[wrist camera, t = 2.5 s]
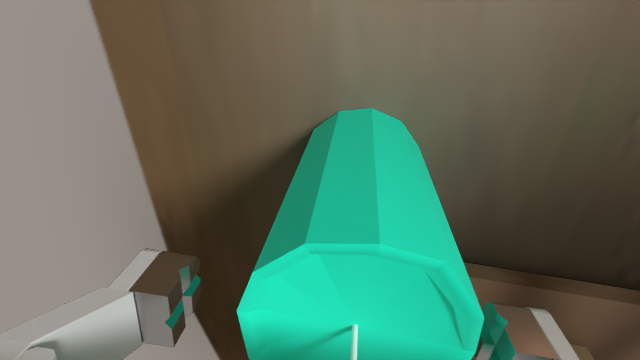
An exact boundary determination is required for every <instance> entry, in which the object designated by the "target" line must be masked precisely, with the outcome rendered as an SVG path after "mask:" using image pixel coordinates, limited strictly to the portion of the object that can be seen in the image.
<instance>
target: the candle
mask: <svg viewBox="0 0 640 360" xmlns="http://www.w3.org/2000/svg"><path fill="white" fill-rule="evenodd" d="M237 315H238V319H239V323H240V327H241V331H242V335H243V338H244V342H245V346H246V350H247V354H248V358H249V359H250V360H471V359H472V357H473V356H474V354H475V353H476V349H477V345H478V342H479V338H480V334H481V330H482V326H483V322H484V315H483V313H482V310H481V307H480V305H479V302H478V300H477V297H476V294H475V292H474V289H473V287H472V284H471V281H470V279H469V276H468V274H467V271H466V268H465V266H464V263H463V260H462V258H461V255H460V253H459V250H458V247H457V245H456V242H455V240H454V237H453V234H452V232H451V229H450V227H449V224H448V221H447V219H446V216H445V214H444V211H443V208H442V206H441V203H440V201H439V198H438V195H437V193H436V190H435V187H434V185H433V182H432V180H431V177H430V174H429V172H428V169H427V167H426V164H425V161H424V159H423V156H422V154H421V151H420V148H419V146H418V144H417V143H416V142H415V140H414V139H413V137H412V136H411V134H410V133H409V131H408V130H407V128H406V127H405V125H404V124H403V123H402V121H400V120H398V119H396V118H394V117H391V116H389V115H387V114H385V113H382V112H380V111H378V110H375V109H373V108H366V109H356V110H346V111H339V112H337V113H336V114H335V115H333V116H332V117H330V118H329V119H328V120H326V121H325V122H323V123H322V124H321V125H319V126H318V127H316V128H315V129H314V130H313V133H312V135H311V137H310V140H309V142H308V144H307V147H306V149H305V151H304V154H303V156H302V158H301V161H300V163H299V165H298V168H297V170H296V172H295V175H294V177H293V179H292V182H291V184H290V186H289V189H288V191H287V193H286V196H285V198H284V200H283V203H282V205H281V207H280V210H279V212H278V214H277V217H276V219H275V221H274V224H273V226H272V228H271V231H270V233H269V235H268V238H267V240H266V242H265V245H264V247H263V249H262V252H261V254H260V256H259V259H258V261H257V263H256V266H255V268H254V270H253V273H252V275H251V277H250V280H249V282H248V285H247V287H246V289H245V292H244V294H243V297H242V299H241V301H240V304H239V306H238V309H237Z"/></svg>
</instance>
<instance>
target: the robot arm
mask: <svg viewBox="0 0 640 360" xmlns="http://www.w3.org/2000/svg"><path fill="white" fill-rule="evenodd" d="M199 269H200V261H199V258H197V257H195V256H189V255H184V254H178V253H172V252H167V251H159V250H154V249H148V248H146V249H144V250H142V251H141V252H140V253H139V254H138V255H137V256H136V257H135V258H134V259H133V261H132V262H131V263H130V264H129V265H128V266H127V267H126V268H125V269H124V270H123V271H122V273H121V274H120V275H119V276H118V277H117V278H116V279H115V280H114V281H113V282H112V283H111V285H110V286H109V287H108V288H103V287H101V288H99V289H97V290H95V291H92V292H90V293H88V294H86V295H84V296H81V297H79V298H77V299H75V300H73V301H70V302H68V303H66V304H64V305H62V306H59V307H57V308H55V309H53V310H51V311H49V312H46V313H44V314H42V315H40V316H38V317H35V318H33V319H31V320H29V321H26V322H24V323H22V324H20V325H18V326H15V327H13V328H11V329H9V330H7V331H4V332H2V333H0V360H123V359H124V358H125V357H127V356H128V355H129V354H131V353H132V352H133V351H135V350H136V349H137V348H139V347H140V346H141V345H142V343H148V344H155V345H163V346H170V347H174V346H175V344H176V343H177V341H178V339H179V337H180V335H181V334H182V332H183V330H184V328H185V318H186V317H187V316H189V315H191V314H192V313H193V312H194V310H195V308H196V306H197V304H198V300H199V297H200V293H201V279H200V278H199V277H198V276H197V273H198V271H199ZM482 313H483V315H484V322H483V326H482V330H481V334H480V338H479V342H478V345H477V349H476V353H475V357H476V359H477V360H580V359H579V358H578V356H577V355H576V353H575V351H574V350H573V348H572V347H571V345H570V344H569V342H568V341H567V339H566V338H565V336H564V334H563V333H562V331H561V330H560V328H559V327H558V325H557V324H556V322H555V320H554V319H553V317H552V316H551V314H550V313H549V312H547V311H546V310H543V309H536V308H529V307H520V306H513V305H506V304H500V303H493V302H488V303H486V304H485V305H484V307H483V309H482Z"/></svg>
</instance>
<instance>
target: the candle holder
mask: <svg viewBox="0 0 640 360" xmlns="http://www.w3.org/2000/svg"><path fill="white" fill-rule="evenodd" d="M463 263H464V266H465V268H466V271H467V274H468V276H469V279H470V281H471V284H472V287H473V289H474V292H475V294H476V297H477V300H478V302H479V305H480V307H481V310H482V309H483V307H484V305H485V304H486V303H488V302H493V303H500V304H506V305H513V306H520V307H529V308H536V309H543V310H546V311H547V312H549V313H550V314H551V316H552V317H553V319H554V320H555V322H556V324H557V325H558V327H559V328H560V330H561V331H562V333H563V334H564V336H565V338H566V339H567V341H568V342H569V344H570V345H571V347H572V348H573V350H574V351H575V353H576V355H577V356H578V358H579V359H580V360H640V291H638V290H632V289H626V288H620V287H614V286H607V285H601V284H595V283H589V282H583V281H576V280H570V279H564V278H558V277H552V276H546V275H539V274H533V273H527V272H521V271H515V270H509V269H502V268H496V267H490V266H484V265H478V264H471V263H465V262H463ZM471 360H477V359H476V357H475V354H474V356H473V357H472V359H471Z"/></svg>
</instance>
